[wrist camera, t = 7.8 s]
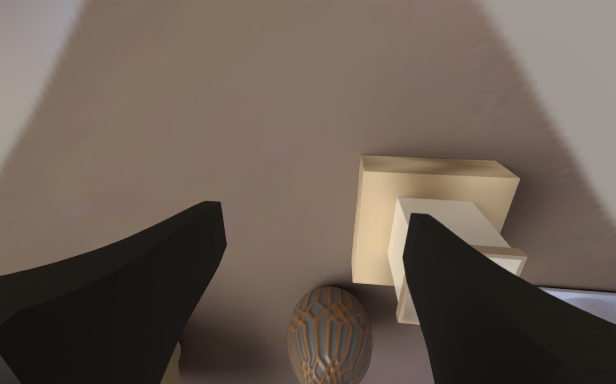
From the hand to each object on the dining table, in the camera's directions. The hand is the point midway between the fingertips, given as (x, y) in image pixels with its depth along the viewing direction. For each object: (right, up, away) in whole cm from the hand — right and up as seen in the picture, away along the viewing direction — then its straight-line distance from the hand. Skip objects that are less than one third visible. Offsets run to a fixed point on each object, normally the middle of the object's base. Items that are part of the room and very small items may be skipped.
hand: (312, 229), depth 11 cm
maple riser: (+8, 0, +11) cm, 13 cm away
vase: (+2, -9, +16) cm, 18 cm away
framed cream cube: (+8, -1, +8) cm, 11 cm away
